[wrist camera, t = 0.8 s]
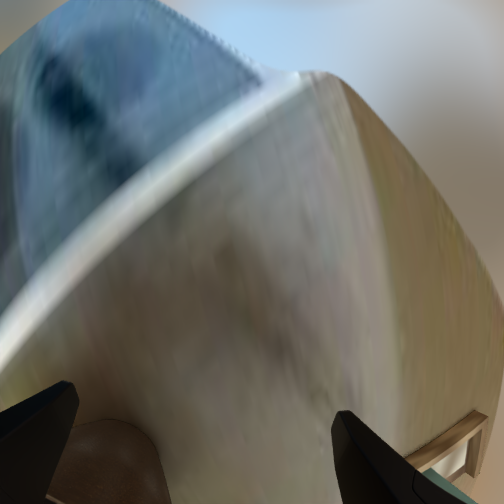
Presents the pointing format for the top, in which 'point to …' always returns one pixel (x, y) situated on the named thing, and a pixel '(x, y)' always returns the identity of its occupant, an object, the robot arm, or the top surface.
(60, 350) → the top surface
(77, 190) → the top surface
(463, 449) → the arena
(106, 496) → the plant pot
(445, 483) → the block
